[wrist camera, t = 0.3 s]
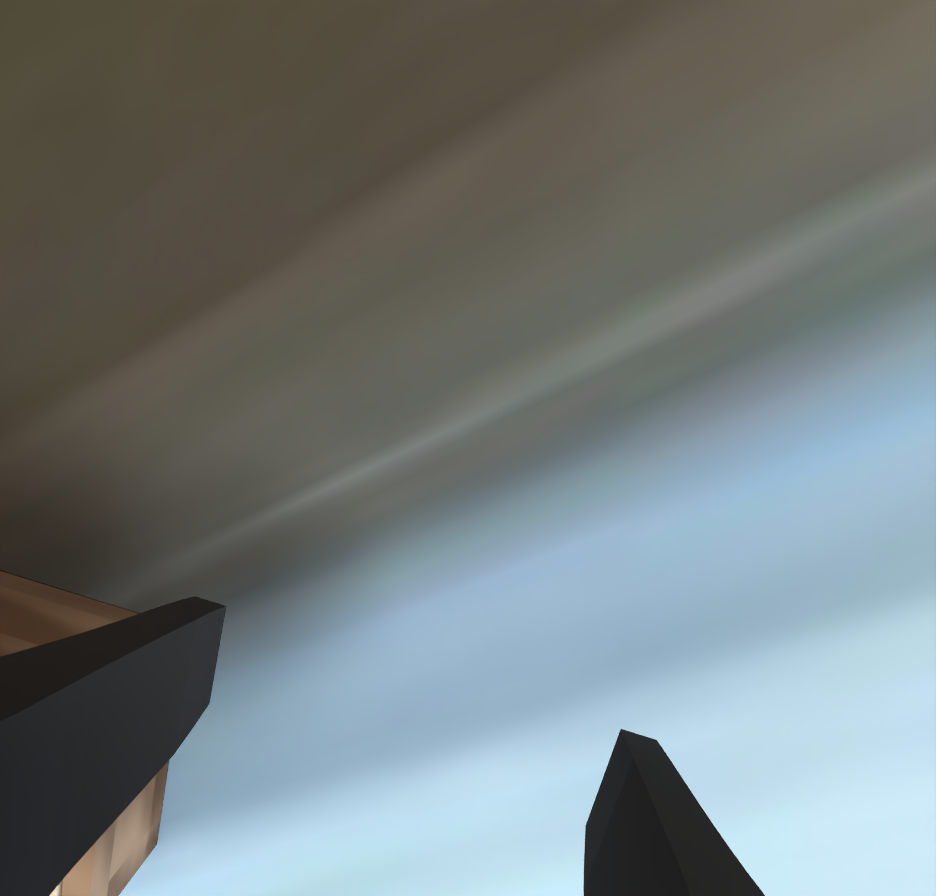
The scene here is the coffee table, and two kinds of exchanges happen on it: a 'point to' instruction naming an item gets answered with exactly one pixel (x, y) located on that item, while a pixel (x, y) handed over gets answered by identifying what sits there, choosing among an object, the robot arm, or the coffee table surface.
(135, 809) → the box
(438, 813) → the coffee table surface
